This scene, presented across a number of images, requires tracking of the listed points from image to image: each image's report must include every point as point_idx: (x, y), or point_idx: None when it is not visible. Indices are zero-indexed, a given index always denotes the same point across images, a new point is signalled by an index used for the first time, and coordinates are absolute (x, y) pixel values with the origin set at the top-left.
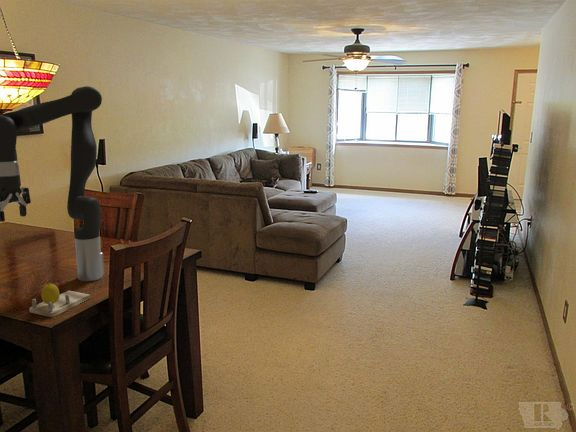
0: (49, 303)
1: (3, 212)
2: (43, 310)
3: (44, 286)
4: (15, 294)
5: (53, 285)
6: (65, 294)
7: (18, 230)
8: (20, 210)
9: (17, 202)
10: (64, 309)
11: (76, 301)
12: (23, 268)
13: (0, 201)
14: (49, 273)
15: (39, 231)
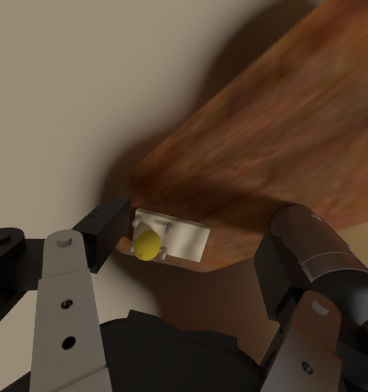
0: (130, 250)
1: (96, 265)
2: (135, 232)
3: (138, 249)
4: (194, 140)
5: (144, 260)
6: (193, 232)
7: None
8: (275, 265)
9: (287, 325)
10: None
11: (174, 255)
12: None
13: (74, 307)
14: (324, 129)
15: None
